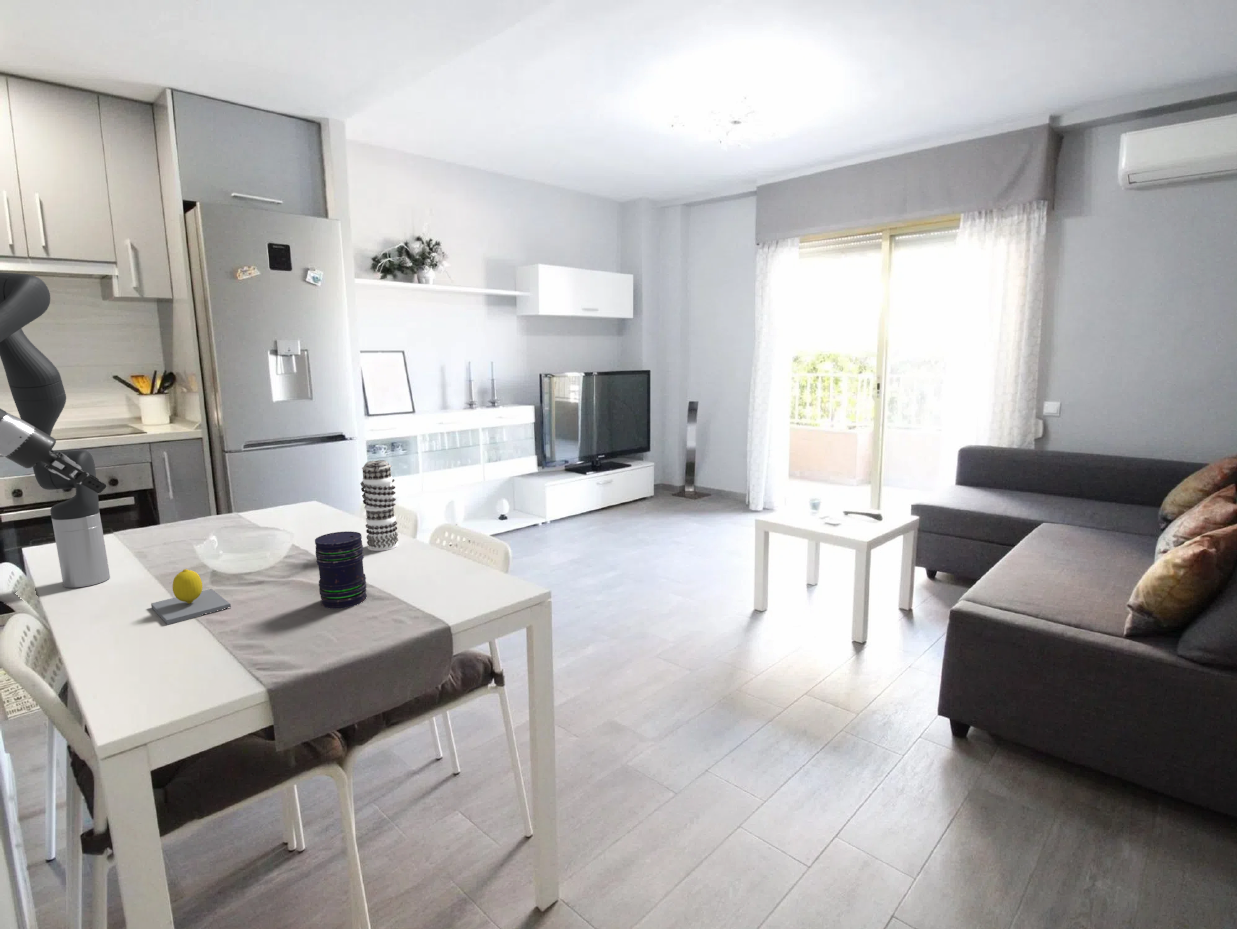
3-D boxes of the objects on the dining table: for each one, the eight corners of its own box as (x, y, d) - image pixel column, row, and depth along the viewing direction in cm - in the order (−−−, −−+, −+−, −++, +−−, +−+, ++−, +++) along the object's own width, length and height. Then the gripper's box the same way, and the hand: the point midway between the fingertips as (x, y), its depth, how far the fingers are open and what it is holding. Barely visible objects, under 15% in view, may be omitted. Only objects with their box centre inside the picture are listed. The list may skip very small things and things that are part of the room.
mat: (151, 607, 147) (151, 603, 147) (212, 592, 156) (211, 588, 156) (167, 624, 138) (166, 620, 138) (230, 608, 146) (230, 603, 146)
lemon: (171, 609, 143) (166, 574, 142) (180, 600, 149) (175, 566, 147) (200, 606, 145) (195, 571, 143) (207, 597, 150) (203, 564, 149)
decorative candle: (367, 543, 193) (359, 460, 189) (400, 540, 196) (393, 458, 192) (365, 552, 185) (357, 465, 180) (399, 549, 188) (392, 463, 183)
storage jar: (317, 611, 144) (310, 545, 141) (324, 595, 153) (318, 533, 150) (365, 606, 146) (359, 541, 144) (369, 590, 155) (364, 529, 153)
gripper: (37, 429, 127) (119, 477, 138) (28, 422, 137) (106, 467, 147) (5, 460, 124) (92, 506, 135) (-1, 451, 134) (80, 495, 144)
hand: (99, 486), depth 141 cm, fingers open, 8 cm apart
